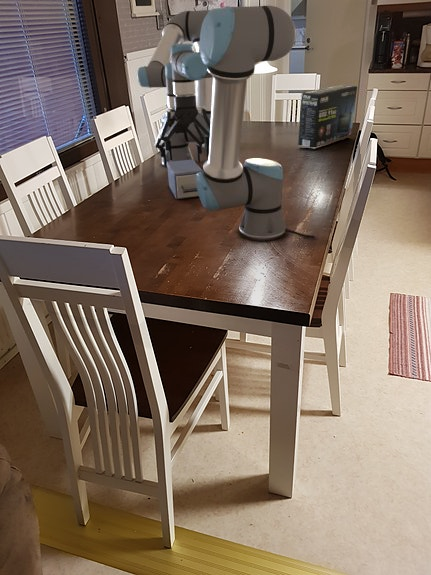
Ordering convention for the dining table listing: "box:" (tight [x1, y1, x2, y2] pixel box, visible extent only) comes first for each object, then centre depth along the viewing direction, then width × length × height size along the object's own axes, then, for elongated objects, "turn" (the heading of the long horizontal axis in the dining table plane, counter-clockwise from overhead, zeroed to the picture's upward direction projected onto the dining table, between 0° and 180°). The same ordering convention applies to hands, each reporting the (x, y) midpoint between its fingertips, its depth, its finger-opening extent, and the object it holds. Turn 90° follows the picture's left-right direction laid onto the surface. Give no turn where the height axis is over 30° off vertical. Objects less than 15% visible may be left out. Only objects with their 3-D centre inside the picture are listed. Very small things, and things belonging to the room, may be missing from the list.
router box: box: [297, 84, 358, 151], centre depth 238 cm, size 36×11×27 cm, turn 134°
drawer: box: [176, 173, 199, 199], centre depth 180 cm, size 21×10×8 cm, turn 14°
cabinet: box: [166, 158, 203, 200], centre depth 185 cm, size 17×11×10 cm, turn 14°
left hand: (181, 163), depth 185 cm, fingers open, 13 cm apart
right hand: (188, 157), depth 167 cm, fingers open, 13 cm apart
